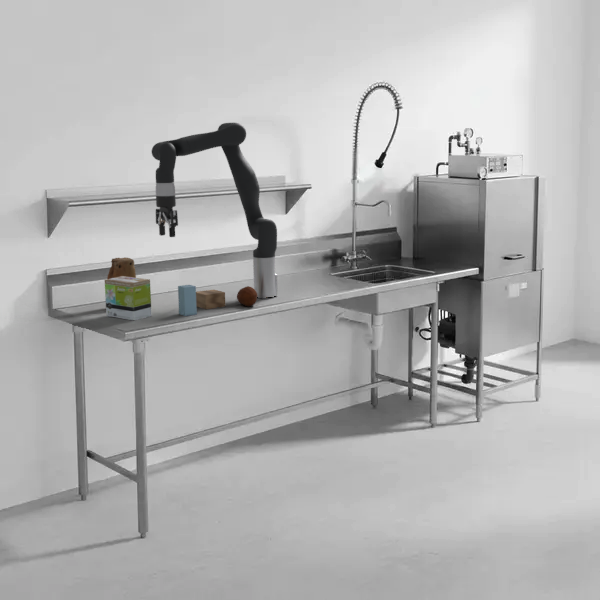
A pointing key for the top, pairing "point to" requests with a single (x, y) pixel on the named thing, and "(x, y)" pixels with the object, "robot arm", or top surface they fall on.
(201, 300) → the brown wooden block
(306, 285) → the top surface
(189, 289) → the pillar
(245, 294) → the potato
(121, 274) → the brown tapered piece
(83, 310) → the top surface
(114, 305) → the tea box
